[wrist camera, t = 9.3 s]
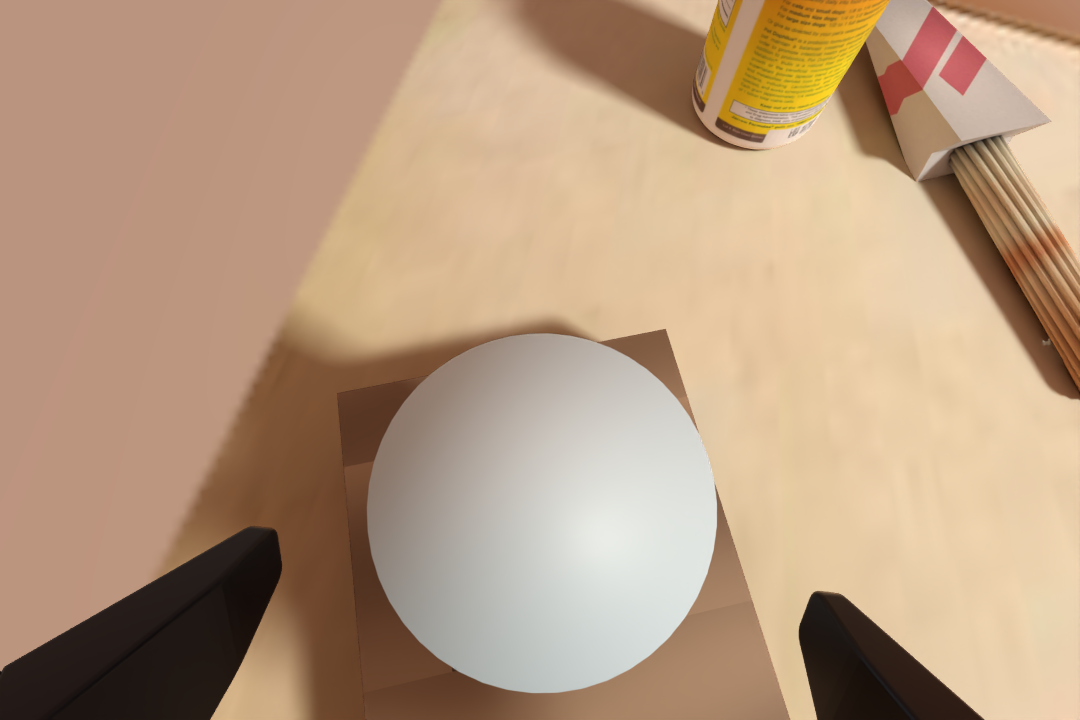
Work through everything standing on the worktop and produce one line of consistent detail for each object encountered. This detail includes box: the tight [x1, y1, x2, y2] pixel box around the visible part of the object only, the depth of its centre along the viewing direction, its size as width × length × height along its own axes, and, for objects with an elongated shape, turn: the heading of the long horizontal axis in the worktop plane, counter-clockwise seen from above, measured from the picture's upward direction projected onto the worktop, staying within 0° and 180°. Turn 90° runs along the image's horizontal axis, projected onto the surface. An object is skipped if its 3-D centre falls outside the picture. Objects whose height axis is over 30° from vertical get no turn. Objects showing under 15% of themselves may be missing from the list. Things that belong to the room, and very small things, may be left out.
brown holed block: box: [337, 329, 790, 720], centre depth 15 cm, size 18×10×4 cm, turn 12°
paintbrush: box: [866, 0, 1080, 391], centre depth 22 cm, size 4×3×20 cm
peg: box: [367, 333, 717, 693], centre depth 12 cm, size 4×4×12 cm
